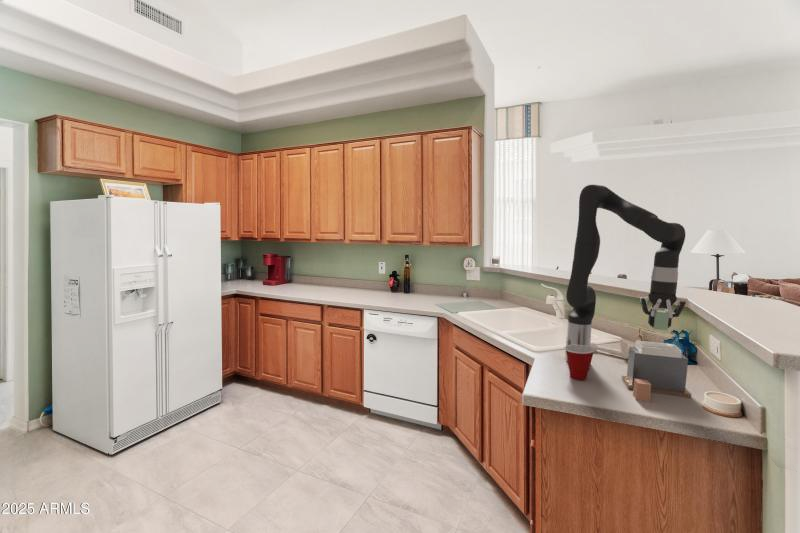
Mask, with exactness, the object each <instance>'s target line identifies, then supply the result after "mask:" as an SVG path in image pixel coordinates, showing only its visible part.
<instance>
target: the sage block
mask: <svg viewBox="0 0 800 533" xmlns="http://www.w3.org/2000/svg"><path fill="white" fill-rule="evenodd" d="M654 317H655V318H654V326H653V327H652V329H653V330H662V331H668V329H669V328H668V321H669V313H667V312H666V311H665V310H657V311H656V312H655V315H654Z"/></svg>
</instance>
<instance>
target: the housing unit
mask: <svg viewBox="0 0 800 533" xmlns="http://www.w3.org/2000/svg"><path fill="white" fill-rule="evenodd" d="M628 348H629V356H628V359H627V370H626V375H621V380H622V382H623V383H624V385H625V386H626V389H628V390H633V388H634V379H642V380H648V381H649V383H650V384H651V393H656V394H662V395H663V394H664V395H669V396H678V397H685V398H692V393H691V391H689V390H688V389H687V388H686V386H687V375H688V364H689V358H688V357H686V356H685V355H684V354H683V350H681V349H680V348H679V347H678V346H677V345H675V344H674V343H666V342H655V341H654V342H653V341H645V340H635V345H634V346H628Z"/></svg>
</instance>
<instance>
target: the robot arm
mask: <svg viewBox="0 0 800 533" xmlns="http://www.w3.org/2000/svg"><path fill="white" fill-rule="evenodd" d="M598 209H602V210H606V211H610V212H611V213H613V214H615V215H617V217H619V218H620V219H621V220H622V221H624V222H625V223H626V224H628V225H629V226H632V227H634V228H635V229H638V230H640V231H642V232H644V233H645V234H646V236H648V237H650V238H651V239H653V240H655V241H656V242H659V243H661V245H660V248H659V249H658V250H656V251H655V253H654V257H653V258H654V259H653V268H652V271H651V277H650V279H651V280H650V289H649V290H650V291H649V294H648V295H647V296H645V297H642V296H640V297H639V298H638V299H639V301H640V306H641V308H642V312H643V313H644V314H645V315H648V320H647V323H648V325H649V326H650V327H651V328H653V326H654V318H655V317H654V315H655V312H656V311H657V310H658V309H664V311H666V312H667V313H669V321H668V329H669V328H671V327H672V321H673V320H672V319H673V318H678V317H679V316H680V315H681V313H682V311H683V309H684V307H685V305H686V301H685V300H682V299H678V298H677V287H678V280H679V279H678V278H679V262H680V254H681V252H682V250H683V247H684V243H685V239H686V230H685V227H684V226H683V225H682V224H680V223H677V222H667V221H665V220H663V219H660V218H659V217H658V215H656V214H655V213H653V212H651V211H650V210H647V209H645V208H642V207H641V206H639V205H636V204H634V203H632V202H630V201H628V200H626V199H624V198H622V197H621V196H619V195H618V193H617V194H616V193H615V192H614V191H612V190H611V189H610V188H608V187H607V186H605V185H600V184H599V185H598V184H587V185H585V186H584V187H582V190H581V191H580V194H579V200H578V223H577V231H576V238H575V243H574V252H573V259H572V267H571V272H570V273H571V274H570V278H569V281H568V285H567V290H566V302H567V303H568V305H569V306H570V307H571V308H572V311H571V312H570V313H569V314H568V318H567V331H566V332H567V333H566V338H565V339H566V340H565V346H567V345H585V346H590V343H591V342H592V341H591V339H592V323H593V318H594V316H595V311H596V304H597V295H596V292H595V289H594V288H593V287H592V286H590V285H588V282H589V279H590V278H589V277H590V274H591V272H592V270H593V268H594V266H595V264H596V263H597V260H598V257H599V253H600V249H601V248H600V247H601V235H600V233H599V230H598V226H597V212H598ZM648 301H649V302H650V303H651V306H650V309H649V308H648V305H647V304H648ZM674 304H675V305H676V307H675V308H674V310H673V309H672V306H673V305H674ZM658 311H659V310H658ZM564 357H565V361H566V362H567V363H568V358H567V353H566V352H565V355H564Z"/></svg>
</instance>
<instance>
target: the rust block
mask: <svg viewBox="0 0 800 533" xmlns="http://www.w3.org/2000/svg"><path fill="white" fill-rule="evenodd" d="M651 393H652V392H651V384H650V383H649V381H648V380H642V379H634V388H633V391H632V396H633V398H634V397H635V398H634V399H635V401H639V400H642V402H646V401H649V402H648V403H650V402H651Z"/></svg>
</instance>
